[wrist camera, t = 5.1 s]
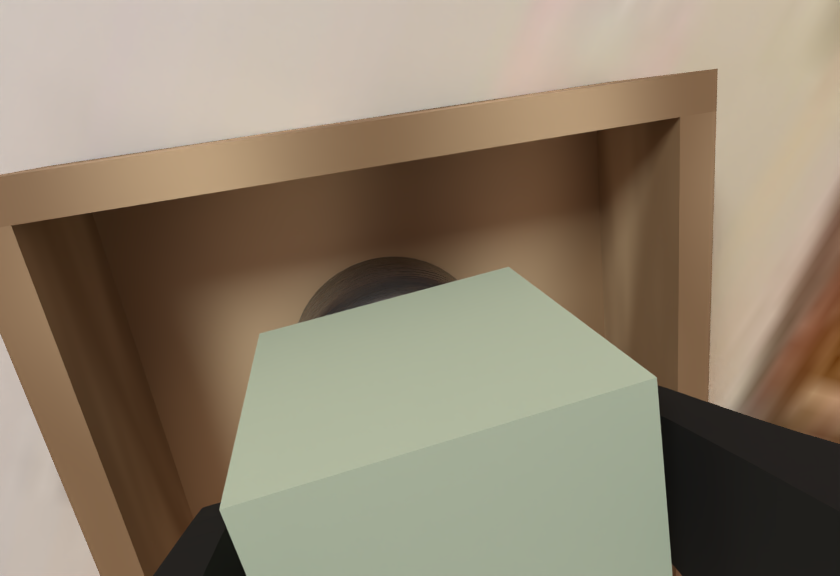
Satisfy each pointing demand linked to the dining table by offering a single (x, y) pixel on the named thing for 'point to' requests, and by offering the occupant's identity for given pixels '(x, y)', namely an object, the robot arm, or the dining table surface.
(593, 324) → the wooden tray
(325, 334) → the pale green cube
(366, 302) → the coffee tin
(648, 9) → the dining table surface
